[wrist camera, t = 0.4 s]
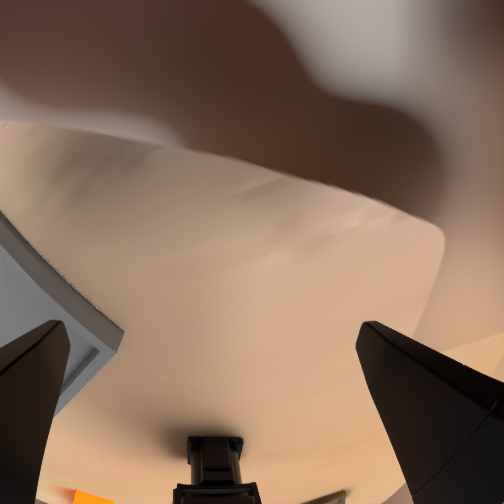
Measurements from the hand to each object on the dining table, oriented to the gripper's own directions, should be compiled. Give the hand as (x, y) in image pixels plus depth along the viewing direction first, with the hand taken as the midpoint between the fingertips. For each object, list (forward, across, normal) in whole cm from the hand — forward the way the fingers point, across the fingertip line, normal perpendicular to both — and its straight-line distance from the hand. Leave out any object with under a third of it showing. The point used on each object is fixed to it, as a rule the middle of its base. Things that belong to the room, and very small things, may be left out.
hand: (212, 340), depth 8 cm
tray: (+14, +20, +10) cm, 26 cm away
